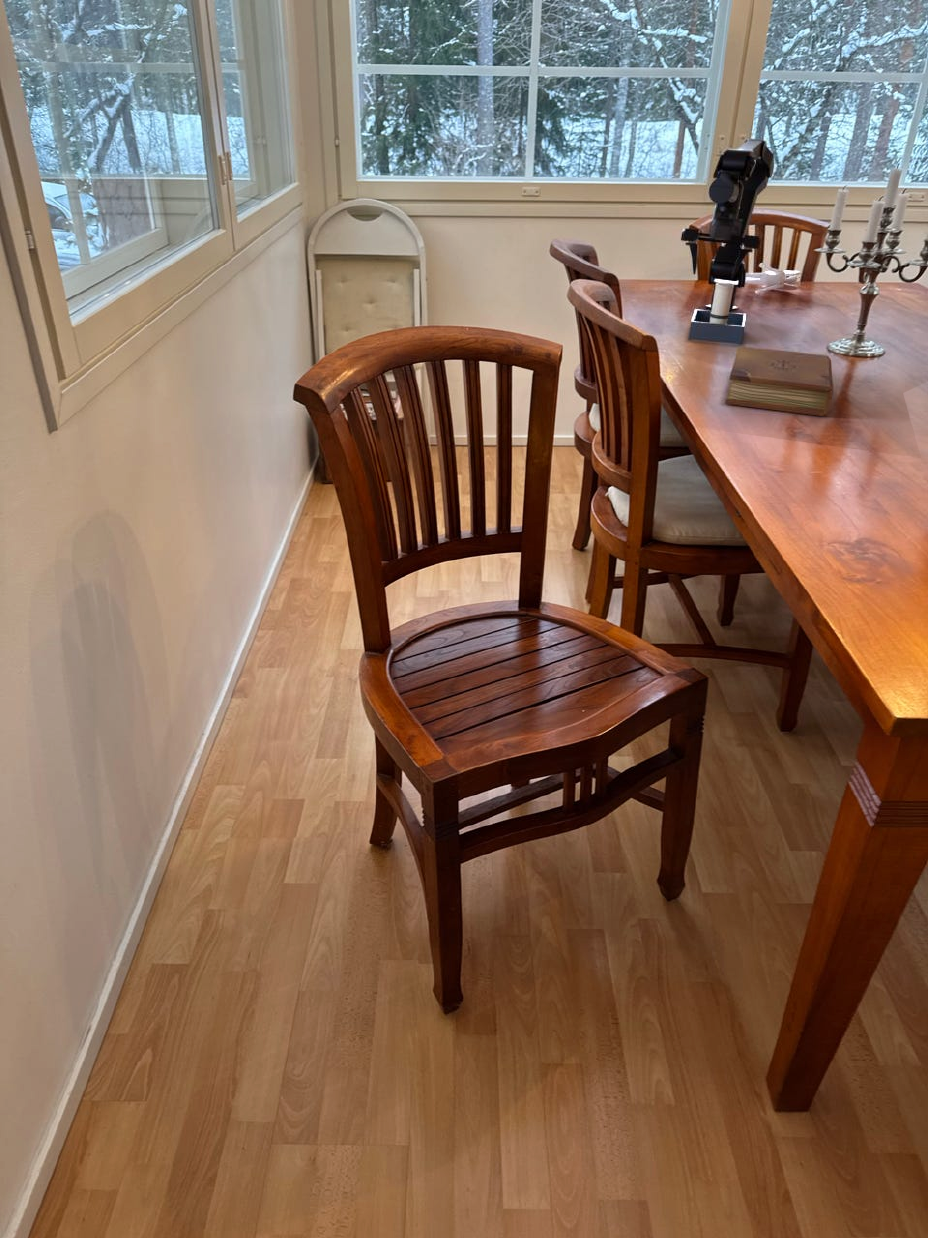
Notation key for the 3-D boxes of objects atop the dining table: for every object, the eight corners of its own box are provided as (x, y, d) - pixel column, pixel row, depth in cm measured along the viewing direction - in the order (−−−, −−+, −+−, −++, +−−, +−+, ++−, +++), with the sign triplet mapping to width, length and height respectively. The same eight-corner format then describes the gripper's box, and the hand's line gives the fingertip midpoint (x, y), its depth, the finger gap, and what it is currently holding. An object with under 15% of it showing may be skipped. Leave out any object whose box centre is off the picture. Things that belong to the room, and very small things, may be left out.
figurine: (728, 261, 252) (801, 263, 245) (732, 263, 262) (803, 264, 255) (724, 293, 255) (796, 295, 248) (728, 293, 265) (798, 296, 258)
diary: (826, 417, 164) (834, 387, 160) (724, 404, 168) (730, 374, 165) (825, 382, 182) (832, 354, 179) (733, 372, 187) (738, 344, 184)
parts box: (691, 328, 218) (695, 309, 215) (742, 333, 215) (746, 313, 213) (687, 341, 207) (691, 321, 205) (740, 346, 204) (744, 326, 202)
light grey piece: (713, 333, 212) (722, 281, 205) (728, 337, 209) (737, 284, 203) (703, 336, 209) (712, 283, 203) (718, 339, 207) (727, 286, 200)
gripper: (686, 201, 206) (673, 271, 212) (767, 209, 202) (751, 281, 208) (688, 204, 216) (675, 271, 222) (766, 212, 212) (751, 280, 218)
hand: (712, 276), depth 218 cm, fingers open, 9 cm apart
